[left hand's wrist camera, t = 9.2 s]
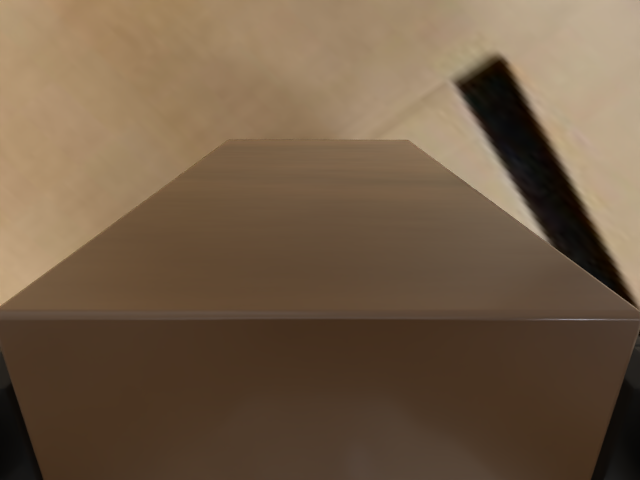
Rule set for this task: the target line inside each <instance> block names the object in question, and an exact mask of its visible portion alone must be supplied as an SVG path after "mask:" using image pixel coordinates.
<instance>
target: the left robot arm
mask: <svg viewBox="0 0 640 480" xmlns="http://www.w3.org/2000/svg"><path fill="white" fill-rule="evenodd" d="M0 480H43V477H42V474H41V471H40V468H39V465H38V462H37V459H36V456H35V453H34V449H33V446H32V443H31V440H30V437H29V434H28V431H27V428H26V425H25V422H24V419H23V416H22V413H21V410H20V406H19V403H18V400H17V397H16V394H15V391H14V388H13V385H12V382H11V379H10V376H9V373H8V370H7V366H6V363H5V360H4V357H3V354H2V351H1V348H0ZM591 480H640V337H639V336H637V339H636V343H635V346H634V349H633V352H632V355H631V358H630V361H629V364H628V367H627V370H626V373H625V376H624V379H623V382H622V386H621V389H620V392H619V395H618V398H617V401H616V404H615V407H614V410H613V413H612V416H611V419H610V422H609V425H608V429H607V432H606V435H605V438H604V441H603V444H602V447H601V450H600V453H599V456H598V459H597V462H596V465H595V469H594V472H593V475H592V478H591Z"/></svg>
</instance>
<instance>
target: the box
mask: <svg viewBox="0 0 640 480" xmlns="http://www.w3.org/2000/svg"><path fill="white" fill-rule="evenodd" d="M639 330H640V311H639V310H638V309H636V308H635V307H634V306H632V305H631V304H630V303H628V302H627V301H626V300H624V299H623V298H622V297H620V296H619V295H617V294H616V293H615V292H613V291H612V290H611V289H609V288H608V287H607V286H605V285H604V284H603V283H601V282H600V281H599V280H597V279H596V278H594V277H593V276H592V275H590V274H589V273H588V272H586V271H585V270H584V269H582V268H581V267H580V266H578V265H577V264H575V263H574V262H573V261H571V260H570V259H569V258H567V257H566V256H565V255H563V254H562V253H561V252H559V251H558V250H557V249H555V248H554V247H552V246H551V245H550V244H548V243H547V242H546V241H544V240H543V239H542V238H540V237H539V236H538V235H536V234H535V233H534V232H532V231H531V230H529V229H528V228H527V227H525V226H524V225H523V224H521V223H520V222H519V221H517V220H516V219H515V218H513V217H512V216H510V215H509V214H508V213H506V212H505V211H504V210H502V209H501V208H500V207H498V206H497V205H496V204H494V203H493V202H492V201H490V200H489V199H487V198H486V197H485V196H483V195H482V194H481V193H479V192H478V191H477V190H475V189H474V188H473V187H471V186H470V185H468V184H467V183H466V182H464V181H463V180H462V179H460V178H459V177H458V176H456V175H455V174H454V173H452V172H451V171H450V170H448V169H447V168H445V167H444V166H443V165H441V164H440V163H439V162H437V161H436V160H435V159H433V158H432V157H431V156H429V155H428V154H427V153H425V152H424V151H422V150H421V149H420V148H418V147H417V146H416V145H414V144H413V143H412V142H410V141H409V140H227V141H226V142H225V143H223V144H222V145H221V146H219V147H218V148H216V149H215V150H214V151H212V152H211V153H210V154H208V155H207V156H206V157H204V158H203V159H201V160H200V161H199V162H197V163H196V164H195V165H193V166H192V167H190V168H189V169H188V170H186V171H185V172H184V173H182V174H181V175H179V176H178V177H177V178H175V179H174V180H173V181H171V182H170V183H168V184H167V185H166V186H164V187H163V188H162V189H160V190H159V191H158V192H156V193H155V194H153V195H152V196H151V197H149V198H148V199H147V200H145V201H144V202H142V203H141V204H140V205H138V206H137V207H136V208H134V209H133V210H131V211H130V212H129V213H127V214H126V215H125V216H123V217H122V218H120V219H119V220H118V221H116V222H115V223H114V224H112V225H111V226H110V227H108V228H107V229H105V230H104V231H103V232H101V233H100V234H99V235H97V236H96V237H94V238H93V239H92V240H90V241H89V242H88V243H86V244H85V245H83V246H82V247H81V248H79V249H78V250H77V251H75V252H74V253H72V254H71V255H70V256H68V257H67V258H66V259H64V260H63V261H62V262H60V263H59V264H57V265H56V266H55V267H53V268H52V269H51V270H49V271H48V272H46V273H45V274H44V275H42V276H41V277H40V278H38V279H37V280H35V281H34V282H33V283H31V284H30V285H29V286H27V287H26V288H24V289H23V290H22V291H20V292H19V293H18V294H16V295H15V296H14V297H12V298H11V299H9V300H8V301H7V302H5V303H4V304H3V305H1V306H0V348H1V351H2V354H3V357H4V360H5V363H6V366H7V370H8V373H9V376H10V379H11V382H12V385H13V388H14V391H15V394H16V397H17V400H18V403H19V406H20V410H21V413H22V416H23V419H24V422H25V425H26V428H27V431H28V434H29V437H30V440H31V443H32V446H33V449H34V453H35V456H36V459H37V462H38V465H39V468H40V471H41V474H42V477H43V480H591V478H592V475H593V472H594V469H595V465H596V462H597V459H598V456H599V453H600V450H601V447H602V444H603V441H604V438H605V435H606V432H607V429H608V425H609V422H610V419H611V416H612V413H613V410H614V407H615V404H616V401H617V398H618V395H619V392H620V389H621V386H622V382H623V379H624V376H625V373H626V370H627V367H628V364H629V361H630V358H631V355H632V352H633V349H634V346H635V343H636V339H637V336H638V333H639Z"/></svg>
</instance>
